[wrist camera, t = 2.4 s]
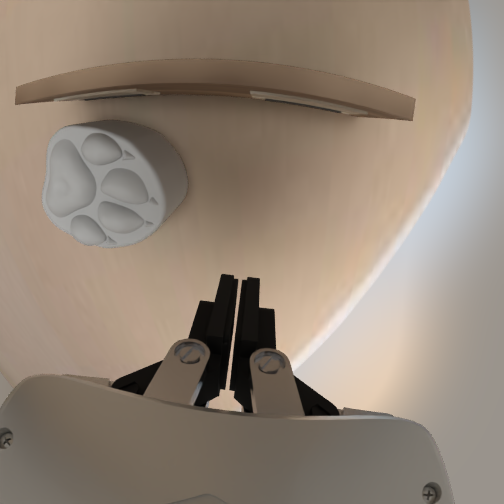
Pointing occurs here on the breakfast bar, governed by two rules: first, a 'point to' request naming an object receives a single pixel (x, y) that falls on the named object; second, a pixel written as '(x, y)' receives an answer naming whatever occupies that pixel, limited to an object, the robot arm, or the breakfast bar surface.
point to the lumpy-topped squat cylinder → (111, 182)
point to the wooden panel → (222, 85)
